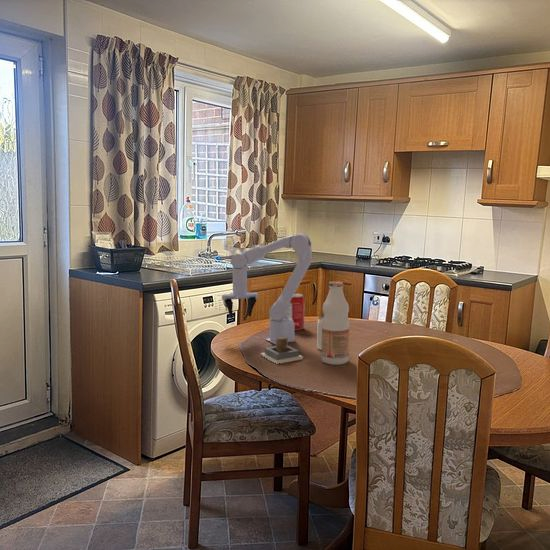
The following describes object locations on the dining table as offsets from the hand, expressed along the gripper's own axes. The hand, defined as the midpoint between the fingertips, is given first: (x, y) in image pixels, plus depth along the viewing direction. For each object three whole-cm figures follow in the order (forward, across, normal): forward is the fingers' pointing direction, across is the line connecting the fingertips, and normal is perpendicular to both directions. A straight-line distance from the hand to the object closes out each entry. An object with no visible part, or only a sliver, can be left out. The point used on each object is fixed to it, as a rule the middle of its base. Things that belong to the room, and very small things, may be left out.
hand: (240, 316), depth 215 cm
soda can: (+10, +27, +8) cm, 30 cm away
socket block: (+9, +7, -28) cm, 31 cm away
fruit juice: (+10, +23, -39) cm, 46 cm away
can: (+10, +26, -24) cm, 37 cm away
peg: (+8, +7, -28) cm, 30 cm away
